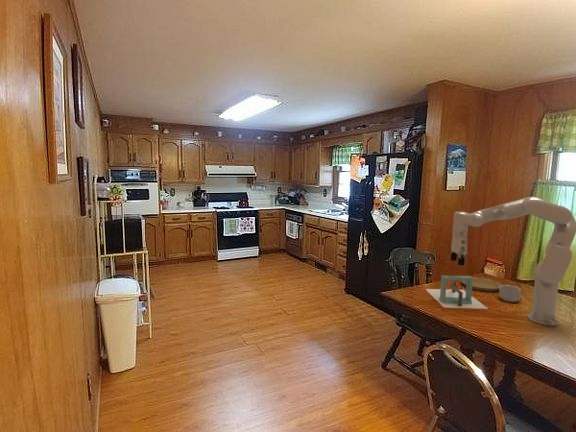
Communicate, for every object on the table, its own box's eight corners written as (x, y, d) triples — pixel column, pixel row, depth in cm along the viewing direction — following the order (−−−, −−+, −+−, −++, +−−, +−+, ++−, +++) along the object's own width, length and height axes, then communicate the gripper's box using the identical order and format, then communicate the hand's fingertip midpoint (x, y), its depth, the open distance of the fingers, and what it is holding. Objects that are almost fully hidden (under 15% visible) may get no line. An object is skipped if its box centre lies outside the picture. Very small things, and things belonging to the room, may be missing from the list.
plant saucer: (455, 286, 223) (455, 281, 223) (468, 279, 239) (469, 274, 238) (495, 296, 205) (495, 291, 205) (507, 287, 221) (507, 282, 220)
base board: (488, 311, 182) (488, 308, 181) (443, 309, 183) (443, 307, 183) (463, 292, 211) (463, 289, 211) (425, 291, 213) (425, 288, 213)
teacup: (519, 305, 190) (520, 292, 189) (497, 301, 197) (498, 288, 196) (520, 298, 201) (521, 285, 200) (499, 294, 208) (500, 282, 207)
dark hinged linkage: (462, 306, 184) (463, 292, 183) (452, 305, 186) (453, 291, 185) (455, 291, 208) (456, 279, 207) (446, 291, 209) (447, 278, 208)
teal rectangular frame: (471, 304, 188) (473, 278, 186) (443, 303, 189) (444, 278, 187) (466, 300, 194) (468, 275, 192) (439, 299, 195) (440, 274, 193)
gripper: (474, 236, 177) (471, 267, 180) (459, 231, 195) (457, 259, 197) (459, 236, 178) (457, 266, 180) (446, 230, 195) (444, 258, 197)
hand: (457, 262), depth 189 cm, fingers open, 9 cm apart
